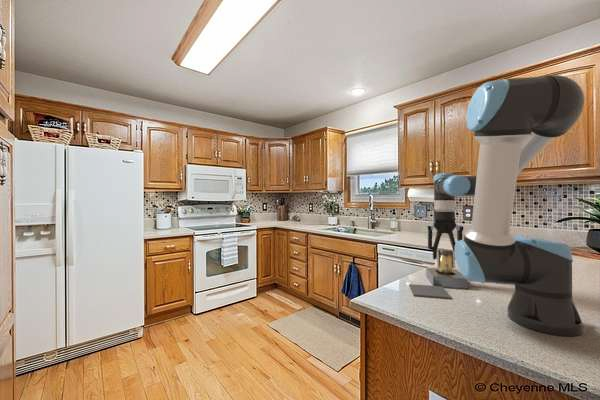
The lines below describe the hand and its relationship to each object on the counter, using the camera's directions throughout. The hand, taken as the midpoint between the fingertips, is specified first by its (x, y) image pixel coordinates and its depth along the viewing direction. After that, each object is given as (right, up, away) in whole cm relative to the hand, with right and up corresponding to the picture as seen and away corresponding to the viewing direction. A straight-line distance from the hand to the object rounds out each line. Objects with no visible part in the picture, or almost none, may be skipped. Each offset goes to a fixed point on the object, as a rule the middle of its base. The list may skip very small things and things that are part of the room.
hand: (445, 266), depth 108 cm
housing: (0, -6, 0) cm, 6 cm away
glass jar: (0, -6, 0) cm, 6 cm away
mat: (-12, -6, -11) cm, 18 cm away
